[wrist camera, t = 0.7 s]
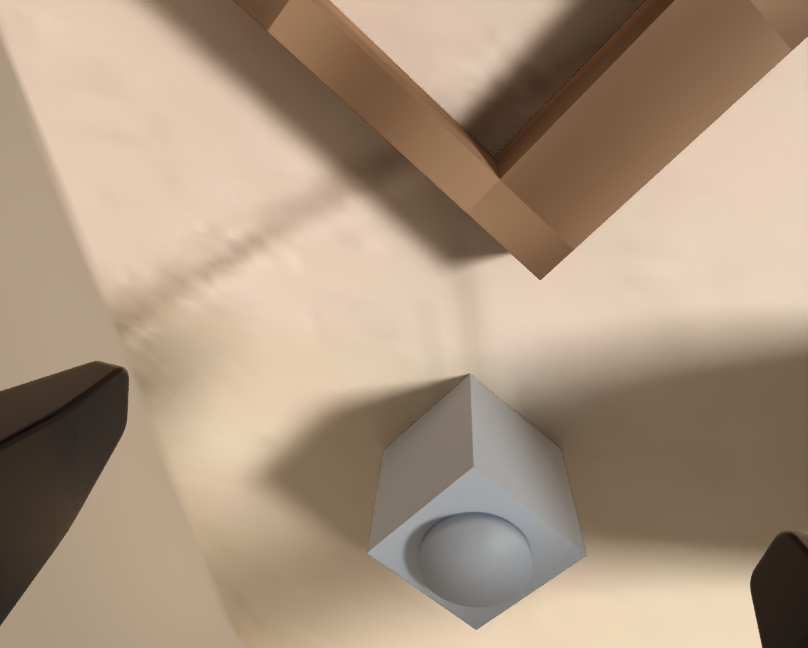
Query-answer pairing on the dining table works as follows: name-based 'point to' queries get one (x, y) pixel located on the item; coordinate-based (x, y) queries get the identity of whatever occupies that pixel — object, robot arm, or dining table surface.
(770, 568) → the robot arm
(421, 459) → the domed grey cube
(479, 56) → the dining table surface
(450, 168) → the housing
